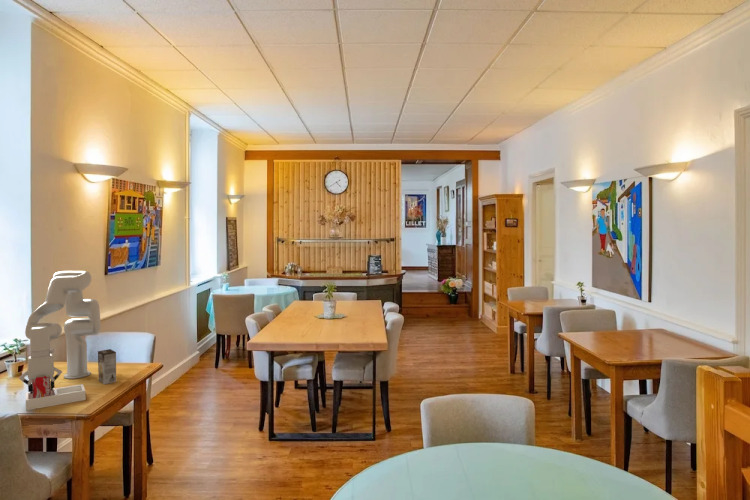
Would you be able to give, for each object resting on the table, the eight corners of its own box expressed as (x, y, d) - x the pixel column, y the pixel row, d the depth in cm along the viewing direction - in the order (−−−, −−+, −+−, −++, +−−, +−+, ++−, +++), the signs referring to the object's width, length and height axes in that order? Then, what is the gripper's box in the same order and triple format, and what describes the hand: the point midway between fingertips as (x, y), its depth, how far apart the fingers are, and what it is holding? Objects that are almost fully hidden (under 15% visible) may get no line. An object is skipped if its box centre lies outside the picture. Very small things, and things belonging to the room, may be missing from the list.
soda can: (41, 403, 224) (40, 377, 224) (28, 402, 226) (27, 376, 225) (54, 398, 231) (53, 372, 230) (42, 397, 232) (40, 372, 232)
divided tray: (25, 402, 230) (25, 393, 229) (83, 393, 243) (82, 384, 243) (26, 410, 220) (25, 400, 220) (85, 399, 233) (85, 390, 233)
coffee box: (97, 380, 262) (97, 351, 262) (110, 378, 267) (110, 348, 266) (104, 384, 256) (103, 354, 256) (117, 381, 261) (116, 351, 260)
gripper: (62, 349, 235) (63, 385, 236) (17, 354, 225) (18, 392, 226) (63, 352, 229) (64, 389, 230) (17, 358, 219) (18, 397, 220)
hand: (41, 391), depth 228 cm, fingers open, 7 cm apart
